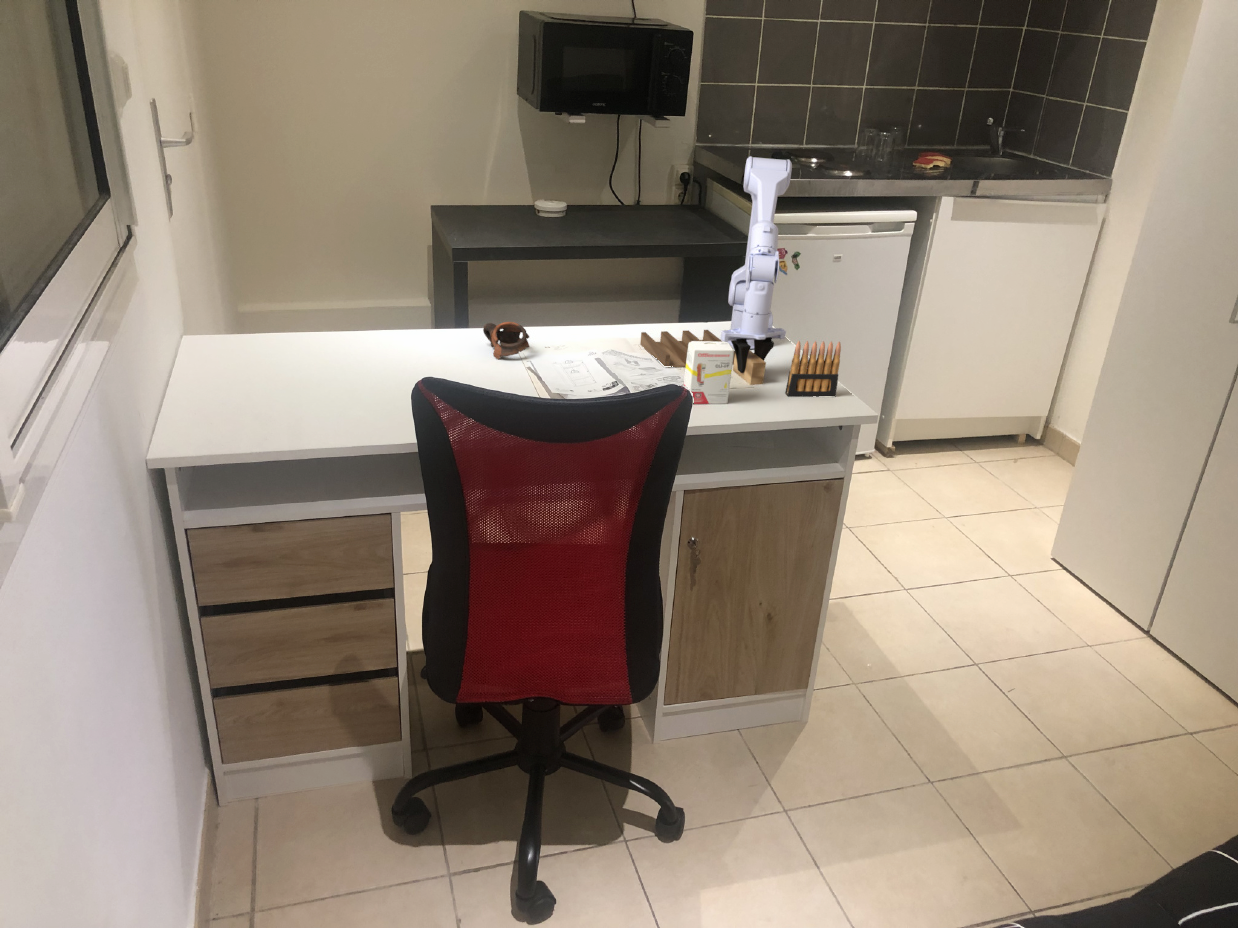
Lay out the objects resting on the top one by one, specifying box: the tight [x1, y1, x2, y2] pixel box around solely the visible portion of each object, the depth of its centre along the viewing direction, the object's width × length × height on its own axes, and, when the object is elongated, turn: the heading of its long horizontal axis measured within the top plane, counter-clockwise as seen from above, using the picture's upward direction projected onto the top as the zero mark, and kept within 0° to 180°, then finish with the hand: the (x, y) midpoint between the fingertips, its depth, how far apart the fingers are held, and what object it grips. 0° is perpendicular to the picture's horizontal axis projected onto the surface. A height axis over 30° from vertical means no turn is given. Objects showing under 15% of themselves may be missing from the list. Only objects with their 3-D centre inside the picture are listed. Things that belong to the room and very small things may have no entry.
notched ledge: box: [640, 329, 735, 368], centre depth 219 cm, size 17×16×3 cm
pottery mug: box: [482, 321, 531, 360], centre depth 211 cm, size 12×10×8 cm
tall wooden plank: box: [732, 349, 767, 386], centre depth 207 cm, size 3×9×5 cm, turn 19°
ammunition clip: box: [784, 340, 842, 398], centre depth 199 cm, size 11×2×12 cm, turn 99°
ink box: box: [683, 341, 735, 405], centre depth 192 cm, size 9×5×12 cm, turn 101°
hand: (748, 371), depth 208 cm, fingers closed on tall wooden plank, 3 cm apart
